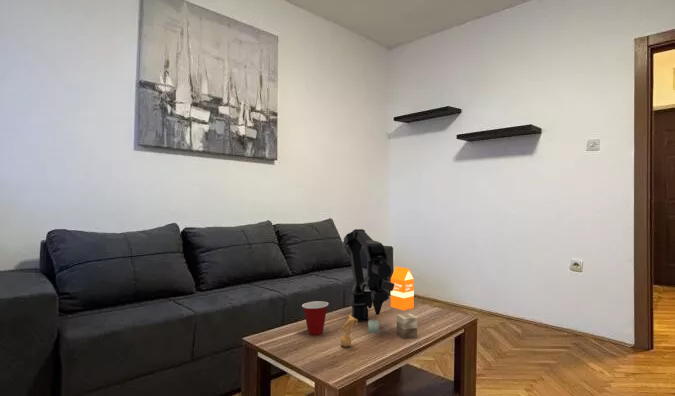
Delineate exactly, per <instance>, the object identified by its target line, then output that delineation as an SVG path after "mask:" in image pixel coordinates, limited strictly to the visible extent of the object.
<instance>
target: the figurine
mask: <svg viewBox="0 0 675 396" xmlns="http://www.w3.org/2000/svg"><path fill="white" fill-rule="evenodd" d="M358 322H359V321H358V320H357V319H355V318H353V317H352V314H349V315H348V320H347V321H345V323H344V325H342V327H341V328H340V331H342V329H343V328H344V331H345V332H344V333H346V334H345V335H342V337H340V344H341V346H343V347H345V348H346V347H350V345H351V344H352V338H351V337H350V335H351V329H352V328H353V327H354V325H353V324H355V326H358Z"/></svg>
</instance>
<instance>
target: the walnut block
mask: <svg viewBox="0 0 675 396" xmlns="http://www.w3.org/2000/svg"><path fill="white" fill-rule="evenodd" d="M396 335H398V337H400V338H401V339H402V340H408V339H417V338H418V327H417V328H412V329H402V328H401V327H400V326H398V325H397V324H396Z"/></svg>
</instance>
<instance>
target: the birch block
mask: <svg viewBox="0 0 675 396" xmlns="http://www.w3.org/2000/svg"><path fill="white" fill-rule="evenodd" d="M397 325H398V326H400V327H401V328H402V329H412V328H417V329H418V317H417V316H415V315H414V314H412V313H410V312H409V313H400V314H399V313H398V314H396V326H397Z"/></svg>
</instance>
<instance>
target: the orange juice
mask: <svg viewBox="0 0 675 396" xmlns="http://www.w3.org/2000/svg"><path fill="white" fill-rule="evenodd" d="M390 282H392V283H394V284H395V285H394V288H393V291H390V307H391V308H394V309H398V310H400V311H406V310H411V309H414V303H415V302H414V301H415V299H414V298H415V297H414V295H415V291H414V290H415V287H414V286H415V279H414V276H413V274H412V272H411V270H410V268H407V267H401V266H397V265H396V266H395V268H394V270H393V273H392V274H391V276H390Z"/></svg>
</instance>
